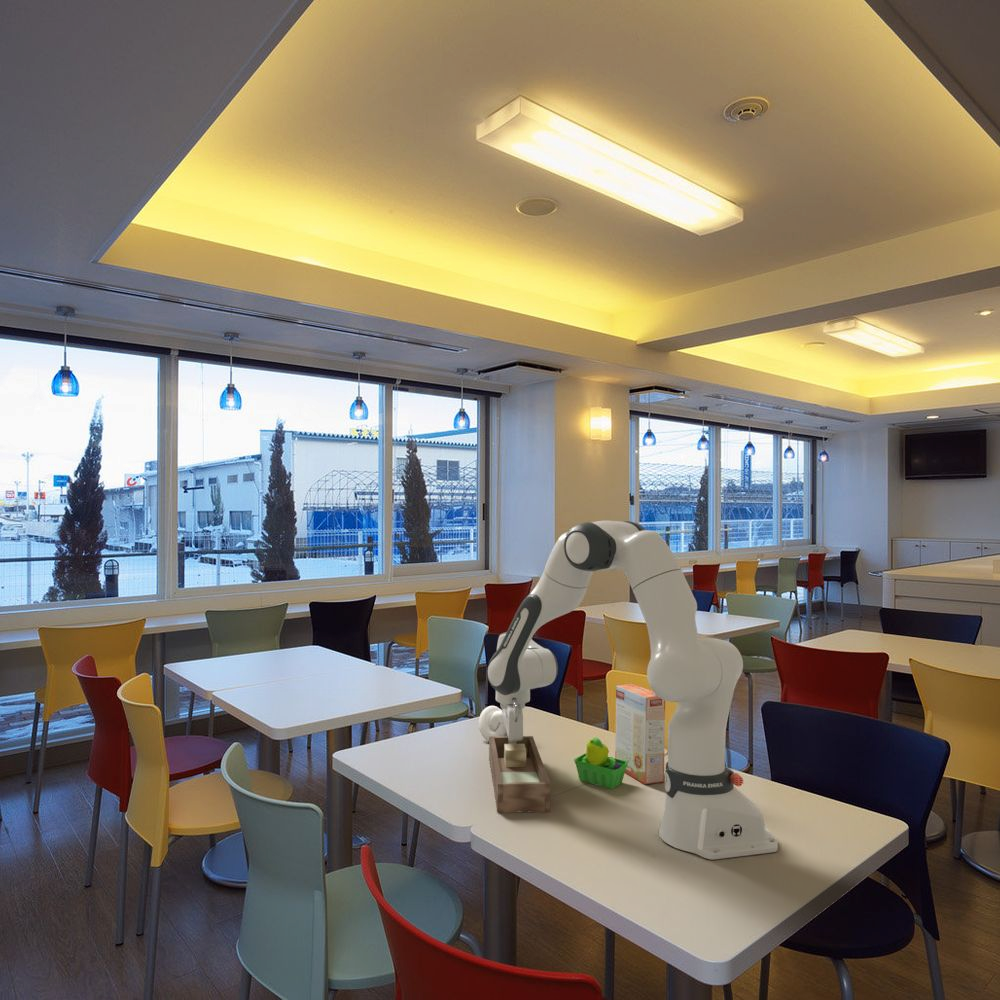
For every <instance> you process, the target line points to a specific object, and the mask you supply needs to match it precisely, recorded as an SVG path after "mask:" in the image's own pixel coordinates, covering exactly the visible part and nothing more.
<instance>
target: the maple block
mask: <svg viewBox="0 0 1000 1000" xmlns="http://www.w3.org/2000/svg"><path fill="white" fill-rule="evenodd" d="M504 762H505V767H526V748H525V744H504Z"/></svg>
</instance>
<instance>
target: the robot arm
mask: <svg viewBox="0 0 1000 1000" xmlns="http://www.w3.org/2000/svg"><path fill="white" fill-rule="evenodd" d="M617 570H621V571H622V572H624V574H625V576H626V578H627V580H628V583H629V585H630V587H631V590H632V593H633V595H634V597H635V600H636V602H637V604H638V607H639V609H640V611H641V615H642V616H643V618H644V622H645V624H646V628H647V632H648V639H649V646H650V647H649V648H650V659H649V662H648V664H647V667H646V668H647V670H646V677H647V682H648V684H649V687H650V690H651V691H653V692H654V693H655V694H656V695H657V696H658V697H659V698H661V699H663V700H665V702H669V703H677V706H676V708H675V711H674V713H673V715H672V716H671V718H670V720H669V722H668V727H667V762H666V763H665V770H664V790H665V793H666V796H665V797H666V798H665V805H664V810H663V816H662V819H661V824H660V827H659V830H658V836H659V838H660V839H661V840H662V841H664V843H666V844H667V845H668V846H669V845H670V846H671V847H673V848H676V849H678V850H681V851H684V852H688V853H692V854H696V855H698V856H700V857H701V858H704V859H708V860H720V859H729V858H738V857H745V856H753V855H761V854H770V853H776V852H777V851H778V850H779V844H778V843H779V842H778V839H777V838H776V836H775V835H774V834H773V833H772V831H770V829H769V828H767V827H766V824H765V820H764V817H763V814H762V812H761V809H760V808H759V807H758V806H757V805H756V803H754V802H753V801H752V800H751V799H750V798H748V797H747V796H746V794H744V793H743V792H741V791H740V790H739V789H738V788H736V787H741V786H742V785H743V784H744V781H745V780H744V778H743V777H742V776H741V775H740V774H739V773H738V772H734V771H733V770H732V769H730V767H727V766H726V732H727V723H728V718H729V714H730V709H731V706H732V702H733V696H734V691H735V688H736V685H737V683H738V681H739V679H740V677H741V675H742V674H743V669H744V661H743V657H742V654H741V652H740V651H739V649H738V648H737V647H736V646H735V645H734V644H733V643H731V642H730V641H728V640H725V639H721V638H715V637H714V638H713V637H705V638H700V636H699V634H698V633H699V632H698V628H697V623H696V614H697V611H698V603H697V600H696V598H695V596H694V594H693V591H692V589H691V587H690V585H689V583H688V581H687V579H686V577H685V575H684V573H683V570H682V568H681V566H680V564H679V562H678V560H677V559H676V556H675V554H674V553H673V552H672V549H671V548H670V547H669V545H668V544H667V542H666V541H665V540H664V538H663V537H662V535H661V534H659V533H658V532H657V531H654V530H647V529H646V528H645V527H644V526H642V525H640V523H637V522H633V521H630V520H629V521H628V520H623V521H621V520H620V521H619V520H608V519H607V520H599V521H597V520H596V521H592V522H590V521H588V522H586V521H585V522H582V523H579V524H577V525H574V526H572V527H571V528H570V529H569V531H566V532H564V533H562V534H561V535H560V536H559V537H558V539H557V540H556V542H555V544H554V546H553V548H552V550H551V551H550V553H549V555H548V558H547V561H546V564H545V567H544V569H543V572H542V573H541V576H540V578H539V580H538V582H537V583H536V585H535V586H534V588H533V589H532V590H531V592H530V593H528V595H527V596H526V597H525V598H524V599H523V600H522V602H521V603H520V605H519V607H518V609H517V610H516V612H515V614H514V617H513V619H512V621H511V623H510V624H509V626H508V628H507V631H505V632H504V631H503V632H502V633H501V634H500V635H498V639H497V643H496V644H497V645H496V651H495V652H494V653H493V655H492V657H491V658H490V659H489V662H488V665H487V668H486V676H487V681H488V682H489V684H490V686H491V687H492V688H493V689H494V690H495V701H496V702H497V703H499V704H500V706H499V707H500V709H501V710H502V715H503V720H504V724H505V728H506V732H507V736H508V744H516V741H521V740H522V739H523V736H524V712H523V709H524V708H525V707H526V704H527V703H529V702H530V701H531V690H535V689H538V688H543V687H547V686H549V685H552V684H553V683H554V682H555V680H556V679H557V676H558V672H559V665H558V661H557V657H556V655H555V654H554V652H552V651H551V650H550V649H549V648H545V647H543V646H542V645H540V644H538V643H537V642H536V641H534V640H533V637H534V635H535V634H536V632H537V631H538V630H539V629H540V628H541V627H542V626H543V625H546V624H547V623H549V622H550V621H553V620H555V619H557V618H560V617H562V616H564V615H566V614H569V613H571V612H574V610H576V609H577V608H578V607H579V606H580V604H581V603H582V602H583V599H584V598H585V595H586V593H587V591H588V587H589V584H590V582H591V578H592V576H593V573H594V572H596V571H617ZM735 786H736V787H735Z"/></svg>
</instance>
